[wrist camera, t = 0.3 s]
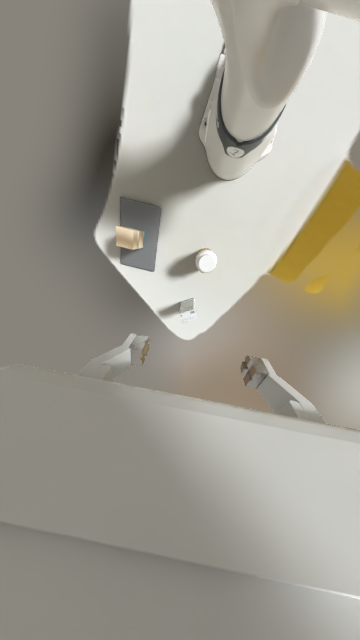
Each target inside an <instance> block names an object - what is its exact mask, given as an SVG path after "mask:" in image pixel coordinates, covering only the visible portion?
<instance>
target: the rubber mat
mask: <svg viewBox="0 0 360 640" xmlns="http://www.w3.org/2000/svg"><path fill="white" fill-rule="evenodd" d="M160 215H161V207H157V206H154V205H150V204H146V203H142V202H138V201H135V200H131V199H127V198H123V197H120V220H121V227H128V228H133V229H137V230H141V231H145V236H144V248H139V249H134V250H132V249H128V248H124V247H121V263H122V264H126V265H130V266H134V267H138V268H142V269H146V270H150V271H154V269H155V260H156V251H157V242H158V233H159V224H160Z"/></svg>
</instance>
